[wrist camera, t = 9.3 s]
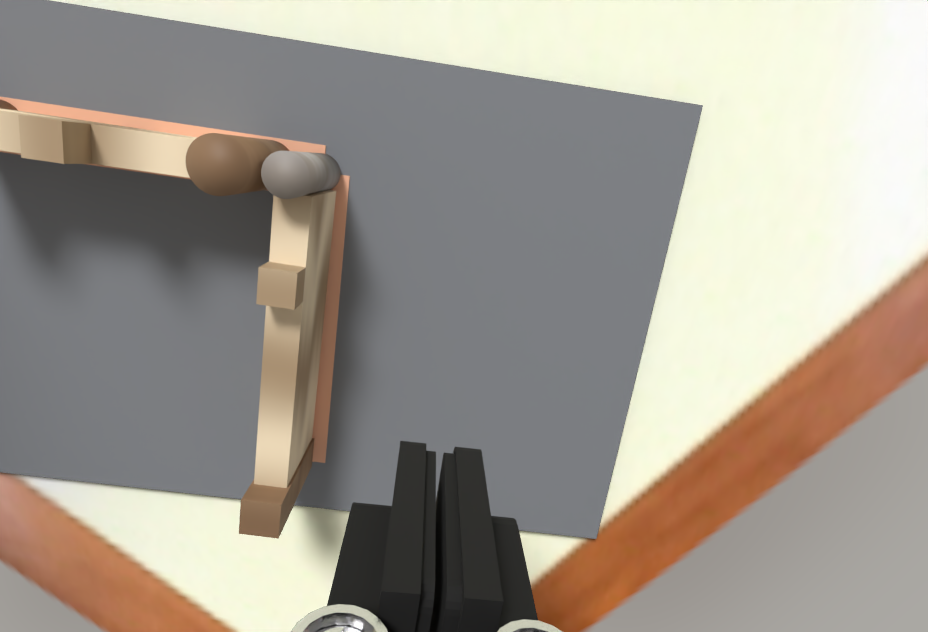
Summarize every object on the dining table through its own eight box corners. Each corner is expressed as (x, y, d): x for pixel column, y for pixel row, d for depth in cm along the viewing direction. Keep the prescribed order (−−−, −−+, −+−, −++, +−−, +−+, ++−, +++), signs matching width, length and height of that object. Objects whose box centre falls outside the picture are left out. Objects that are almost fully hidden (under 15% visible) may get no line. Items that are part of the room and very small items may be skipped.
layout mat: (-10, 465, 25) (-19, 471, 24) (-58, -15, 19) (-70, -19, 19) (594, 533, 26) (596, 539, 26) (698, 106, 21) (703, 105, 21)
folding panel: (305, 150, 21) (262, 146, 16) (342, 156, 21) (310, 154, 16) (279, 462, 24) (238, 533, 20) (311, 466, 24) (278, 538, 20)
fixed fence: (-21, 146, 21) (-169, 140, 16) (-26, 95, 20) (-180, 74, 15) (293, 191, 21) (246, 200, 16) (296, 143, 21) (248, 138, 16)
